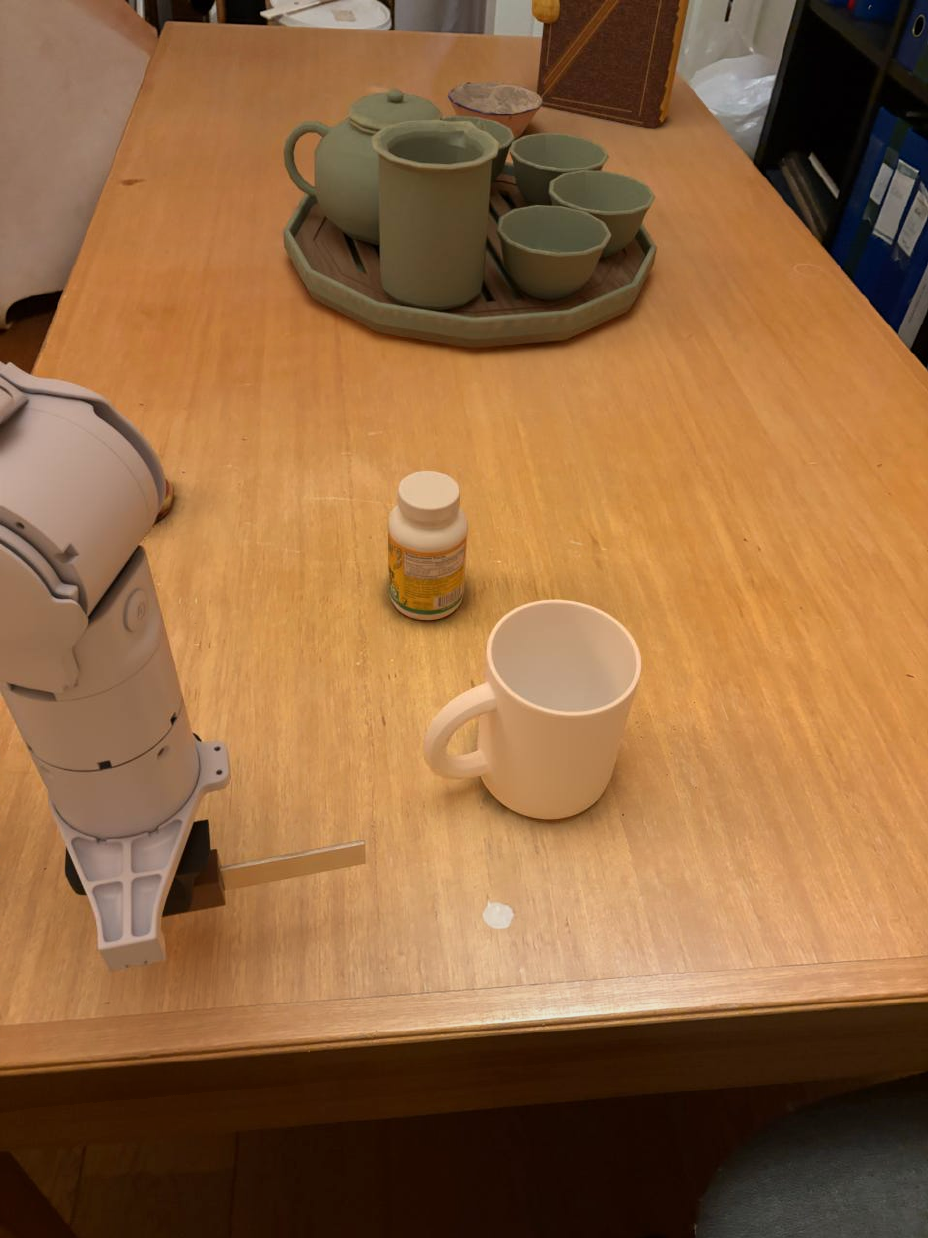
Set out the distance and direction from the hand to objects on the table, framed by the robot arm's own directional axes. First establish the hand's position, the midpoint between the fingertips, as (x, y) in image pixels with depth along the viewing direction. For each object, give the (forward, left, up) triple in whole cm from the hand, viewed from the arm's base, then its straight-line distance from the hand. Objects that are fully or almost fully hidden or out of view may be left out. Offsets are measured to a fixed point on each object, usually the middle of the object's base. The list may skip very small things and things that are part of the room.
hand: (167, 885), depth 44 cm
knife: (+4, 0, -1) cm, 4 cm away
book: (+65, +119, -6) cm, 136 cm away
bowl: (+47, +111, -6) cm, 121 cm away
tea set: (+34, +73, -6) cm, 81 cm away
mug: (+20, +6, -6) cm, 21 cm away
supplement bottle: (+18, +22, -6) cm, 29 cm away
